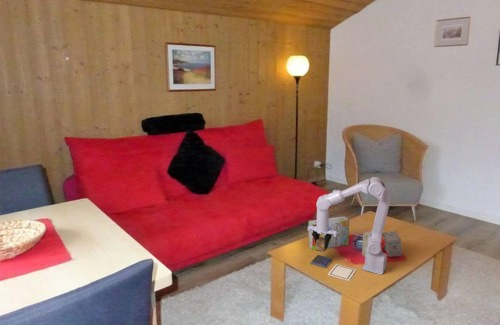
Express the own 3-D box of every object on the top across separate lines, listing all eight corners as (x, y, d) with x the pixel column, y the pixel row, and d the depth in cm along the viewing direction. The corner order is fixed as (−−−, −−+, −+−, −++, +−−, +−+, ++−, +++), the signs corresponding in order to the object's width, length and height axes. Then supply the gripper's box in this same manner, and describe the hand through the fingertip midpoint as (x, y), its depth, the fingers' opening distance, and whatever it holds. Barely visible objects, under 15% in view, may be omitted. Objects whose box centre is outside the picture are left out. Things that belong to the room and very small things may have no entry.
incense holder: (381, 248, 195) (382, 230, 193) (397, 249, 194) (398, 230, 192) (384, 257, 186) (386, 238, 183) (402, 258, 185) (403, 239, 182)
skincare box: (366, 258, 185) (367, 235, 183) (361, 254, 190) (362, 232, 187) (377, 256, 187) (378, 234, 184) (372, 252, 191) (373, 230, 188)
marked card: (356, 270, 175) (356, 269, 175) (348, 281, 166) (348, 280, 166) (336, 264, 180) (336, 263, 180) (327, 274, 171) (327, 274, 171)
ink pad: (332, 260, 184) (332, 258, 184) (325, 268, 177) (325, 266, 177) (317, 256, 188) (317, 254, 188) (310, 263, 181) (310, 261, 181)
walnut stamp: (327, 248, 182) (328, 238, 181) (323, 252, 178) (324, 242, 177) (320, 246, 184) (320, 236, 183) (316, 250, 180) (316, 240, 179)
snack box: (343, 241, 205) (344, 215, 201) (348, 245, 199) (349, 219, 196) (308, 246, 200) (308, 220, 196) (312, 250, 194) (312, 224, 191)
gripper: (305, 220, 178) (304, 246, 181) (333, 226, 170) (333, 253, 173) (311, 215, 184) (310, 240, 187) (339, 221, 176) (338, 247, 179)
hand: (321, 246), depth 181 cm, fingers closed on walnut stamp, 4 cm apart
